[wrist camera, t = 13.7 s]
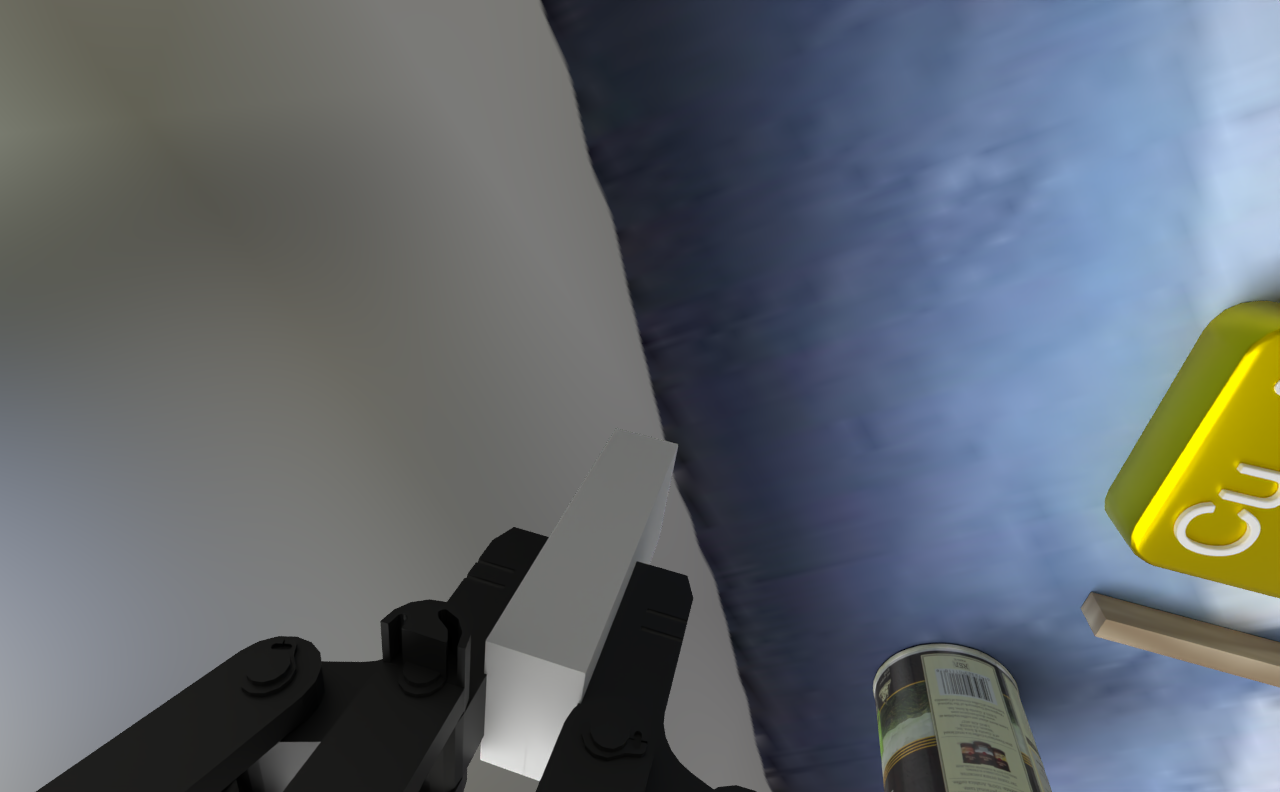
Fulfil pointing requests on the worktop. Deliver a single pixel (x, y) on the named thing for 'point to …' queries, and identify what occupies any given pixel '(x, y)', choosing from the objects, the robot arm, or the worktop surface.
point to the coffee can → (953, 724)
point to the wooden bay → (1184, 638)
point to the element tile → (1212, 460)
